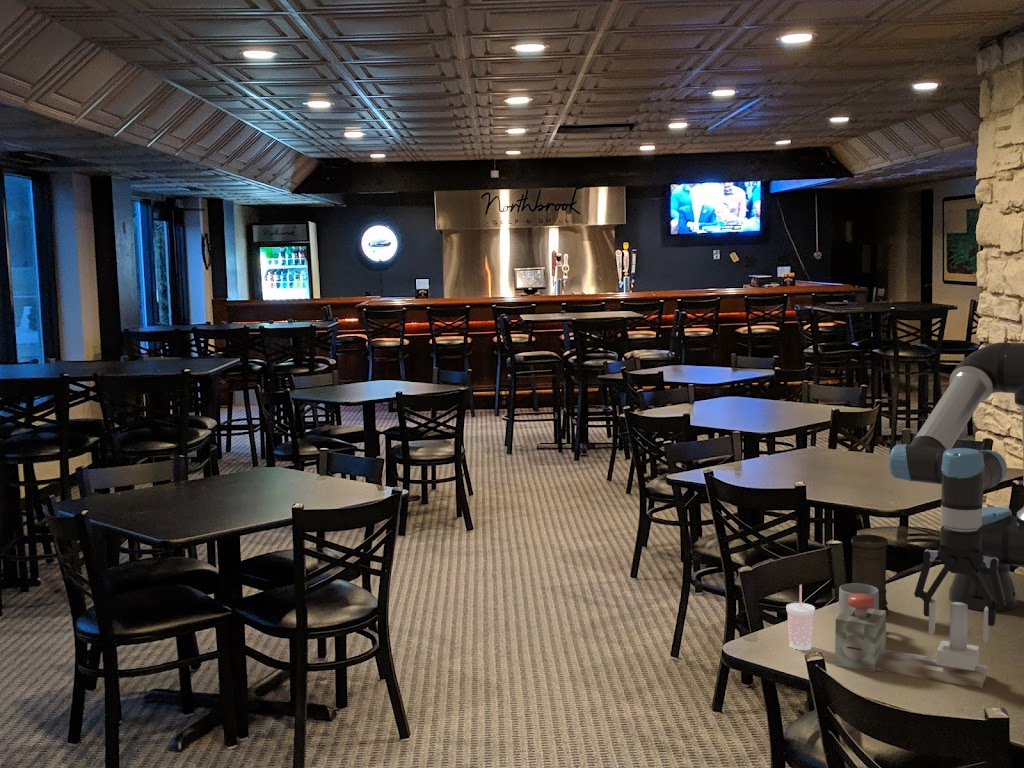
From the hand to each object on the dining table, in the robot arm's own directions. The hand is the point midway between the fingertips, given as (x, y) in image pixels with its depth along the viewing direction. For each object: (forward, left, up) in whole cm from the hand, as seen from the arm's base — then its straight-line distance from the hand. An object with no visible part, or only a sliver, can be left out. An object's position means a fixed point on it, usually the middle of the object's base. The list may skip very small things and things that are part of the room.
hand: (958, 636), depth 207 cm
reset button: (+13, -13, 0) cm, 19 cm away
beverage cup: (+21, -24, -9) cm, 34 cm away
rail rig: (+6, -6, -9) cm, 12 cm away
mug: (+4, -27, -9) cm, 29 cm away
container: (-6, -40, -9) cm, 42 cm away
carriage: (0, 0, -5) cm, 5 cm away
